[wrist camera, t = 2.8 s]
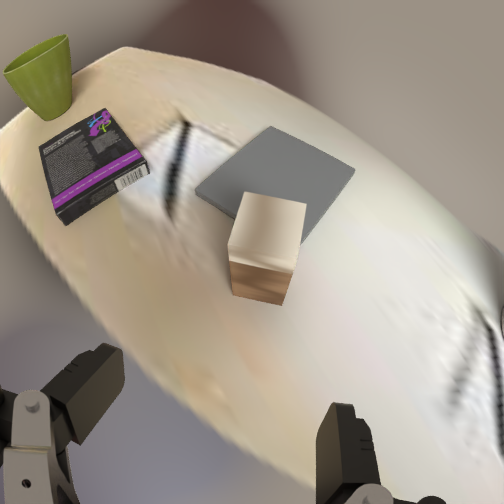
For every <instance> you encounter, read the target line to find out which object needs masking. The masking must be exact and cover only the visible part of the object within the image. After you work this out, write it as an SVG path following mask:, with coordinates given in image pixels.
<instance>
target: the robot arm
mask: <svg viewBox="0 0 504 504" xmlns="http://www.w3.org/2000/svg"><path fill="white" fill-rule="evenodd" d="M502 331H503V335H504V307H503V311H502ZM124 381H125V376H124V364H123V352H122V350H121V349H119V348H117V347H114V346H111V345H109V344H106V343H102V344H101V345H100V346H99V347H98V348H97V349H95V350H94V351H91V350H89V351H86V352H84V353H81V354H79V355H78V356H77V357H75V358H74V359H73V360H72V361H71V363H70V364H68V365H67V366H66V367H65V368H64V370H61V371H60V372H59V373H58V374H57V375H56V376H55V377H54V378H53V379H52V380H51V381H50V382H49V383H48V384H47V385H46V386H45V387H44V388H43V389H41V390H40V391H37V390H26V391H23V392H21V393H20V394H19V395H18V394H15V393H12V392H9V391H6V390H3V389H2V388H1V386H0V467H1V466H2V465H3V467H4V494H5V504H80V502H79V499H78V496H77V494H76V491H75V489H74V484H73V479H72V473H71V467H70V461H69V453H68V448H67V445H68V444H69V442H70V441H71V440H72V441H73V442H75V443H77V444H79V445H81V444H82V443H83V442H84V440H85V439H86V437H87V436H88V435H89V433H90V432H91V431H92V429H93V428H94V427H95V425H96V424H97V423H98V421H99V420H100V419H101V417H102V416H103V415H104V413H105V412H106V410H107V409H108V408H109V407H110V405H111V404H112V403H113V401H114V400H115V399H116V397H117V396H118V395H119V393H120V392H121V390H122V388H123V386H124ZM316 504H446V502H445V501H444V500H442V499H441V498H439V497H436V496H427V497H424V498H422V499H421V500H420V501H419V502H417V503H414V502H409V501H404V500H399V499H395V498H393V497H392V495H391V493H390V492H389V490H387V489H386V488H385V487H383V486H382V485H381V482H380V477H379V471H378V465H377V460H376V455H375V451H374V444H373V442H372V435H371V430H370V428H369V426H368V425H367V424H366V422H365V421H364V419H360V418H356V416H355V410H354V406H353V405H352V404H344V403H335V402H333V403H332V404H331V405H330V407H329V409H328V412H327V414H326V416H325V418H324V420H323V421H322V423H321V425H320V427H319V430H318V433H317V437H316Z"/></svg>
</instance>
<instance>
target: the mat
mask: <svg viewBox="0 0 504 504" xmlns="http://www.w3.org/2000/svg"><path fill="white" fill-rule="evenodd" d="M354 172H355V169H354V168H352V167H350V166H349V165H347V164H345V163H343V162H342V161H340V160H338V159H336V158H334V157H332V156H330V155H329V154H327V153H325V152H323V151H321V150H319V149H317V148H315V147H313V146H311V145H309V144H307V143H305V142H303V141H301V140H299V139H297V138H295V137H293V136H291V135H289V134H287V133H285V132H283V131H281V130H278V129H276V128H274V127H272V126H270V127H269V128H268V129H266V130H265V131H264V132H262V133H261V134H260V135H259V136H257V137H256V138H255V139H254V140H252V141H251V142H250V143H249V144H247V145H246V146H245V147H244V148H243V149H241V150H240V151H239V152H238V153H236V154H235V155H234V156H233V157H232V158H230V159H229V160H228V161H227V162H226V163H225V164H223V165H222V166H221V167H220V168H219V169H217V170H216V171H215V172H214V173H213V174H212V175H211V176H209V177H208V178H207V179H206V180H205V181H204V182H203V183H201V184H200V185H199V186H198V187H197V188H196V189H195V192H196V195H197V196H199V197H201V198H202V199H204V200H205V201H207V202H209V203H210V204H212V205H213V206H215V207H216V208H218V209H220V210H221V211H223V212H224V213H226V214H227V215H229V216H231V217H232V218H234V219H236V216H237V213H238V210H239V207H240V204H241V201H242V198H243V194H244V192H250V193H255V194H260V195H266V196H271V197H276V198H281V199H286V200H291V201H295V202H300V203H305V204H307V205H306V212H305V218H304V224H303V230H302V236H301V242H300V245H301V244H302V243H303V241H304V240H305V239H306V237H307V236H308V235H309V233H310V232H311V231H312V229H313V228H314V227H315V225H316V224H317V223H318V222H319V220H320V219H321V218H322V216H323V215H324V214H325V212H326V211H327V210H328V208H329V207H330V206H331V204H332V203H333V202H334V200H335V199H336V198H337V196H338V195H339V194H340V192H341V191H342V189H343V188H344V187H345V185H346V184H347V183H348V181H349V180H350V179H351V177H352V176H353V174H354Z"/></svg>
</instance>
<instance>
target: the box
mask: <svg viewBox="0 0 504 504" xmlns="http://www.w3.org/2000/svg"><path fill="white" fill-rule="evenodd" d="M39 151H40V156H41V160H42V165H43V169H44V173H45V177H46V181H47V185H48V189H49V192H50V196H51V199H52V203H53V206H54V210H55V213H56V215H57V216H58V218H59V219H60V220H61V221H62V222H63V223H64V225H65V226H67V225H69V224H70V223H71V222H73V221H74V220H76V219H77V218H79V217H80V216H82V215H83V214H84V213H86V212H87V211H89V210H91V209H92V208H94V207H95V206H97V205H98V204H100V203H101V202H103V201H104V200H106V199H108V198H109V197H111V196H112V195H114V194H116V193H117V192H119V191H120V190H122V189H124V188H125V187H127V186H129V185H131V184H132V183H134V182H136V181H137V180H139V179H141V178H143V177H144V176H146V175H148V174H150V172H149V168H148V165H147V161H146V160H145V158H144V157H143V156H142V155H141V154H140V152H139V151H138V150H137V149H136V147H135V146H134V145H133V144H132V142H131V141H130V140H129V138H128V137H127V136H126V135H125V133H124V132H123V131H122V129H121V128H120V127H119V125H118V124H117V123H116V122H115V120H114V119H113V118H112V116H111V115H110V114H109V112H108V111H107V109H106V108H104V109H102V110H100V111H98V112H97V113H95V114H93V115H91V116H89V117H87V118H85V119H84V120H82V121H80V122H78V123H76V124H75V125H73V126H71V127H70V128H68V129H66V130H65V131H63V132H61V133H60V134H58V135H57V136H55V137H53V138H52V139H50V140H49V141H47V142H46V143H44V144H42V145H40V146H39Z"/></svg>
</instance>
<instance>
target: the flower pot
mask: <svg viewBox="0 0 504 504" xmlns="http://www.w3.org/2000/svg"><path fill="white" fill-rule="evenodd" d="M71 72H72V71H71V57H70V48H69V40H68V35H67V34H63V35H58V36H56V37H53V38H50V39H48V40H45V41H43V42H42V43H39V44H38V45H36V46H34V47H32V48H30V49H29V50H27V51H26V52H24V53H23V54H21V55H20V56H18V57H17V58H16V59H15V60H13V61H12V62H11V63H10V64H9V65H8V66H6V68H5V69H4V70H3V74H4V76H5V78H6V79H7V81H8V82H9V84H10V85H11V86H12V88H13V89H14V91H15V92H16V94H17V95H18V96H19V97H20V98H21V99H22V100H23V102H24V103H25V104H26V105H27V106H28V107H29V108H30V109H31V110H32V111H34V112H35V113H36V114H37V115H38V116H39V117H41V118H42V119H43V120H45V121H49V120H52V119H54V118H56V117H58V116H60V115H62V114H63V113H64V112H65V111H67V110H68V109H69V107H70V106H71V104H72V73H71Z"/></svg>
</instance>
